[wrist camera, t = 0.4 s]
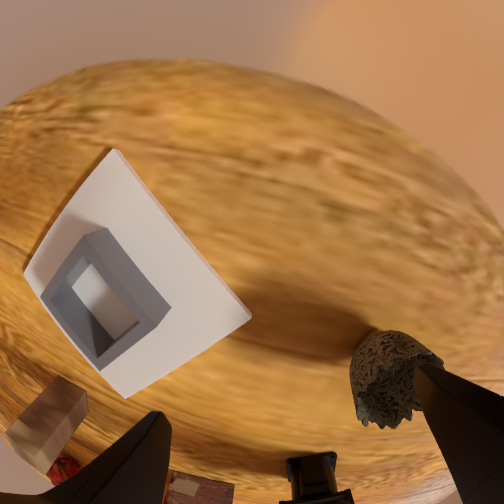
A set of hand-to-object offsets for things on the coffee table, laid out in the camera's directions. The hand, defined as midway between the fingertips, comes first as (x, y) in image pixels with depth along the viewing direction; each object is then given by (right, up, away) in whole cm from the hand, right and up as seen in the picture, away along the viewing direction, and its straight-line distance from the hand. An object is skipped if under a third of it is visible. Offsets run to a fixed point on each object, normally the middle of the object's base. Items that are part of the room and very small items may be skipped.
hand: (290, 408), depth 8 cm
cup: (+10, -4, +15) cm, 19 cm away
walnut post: (-25, -14, +19) cm, 34 cm away
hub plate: (-14, +1, +15) cm, 21 cm away
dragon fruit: (-38, -37, +25) cm, 58 cm away
